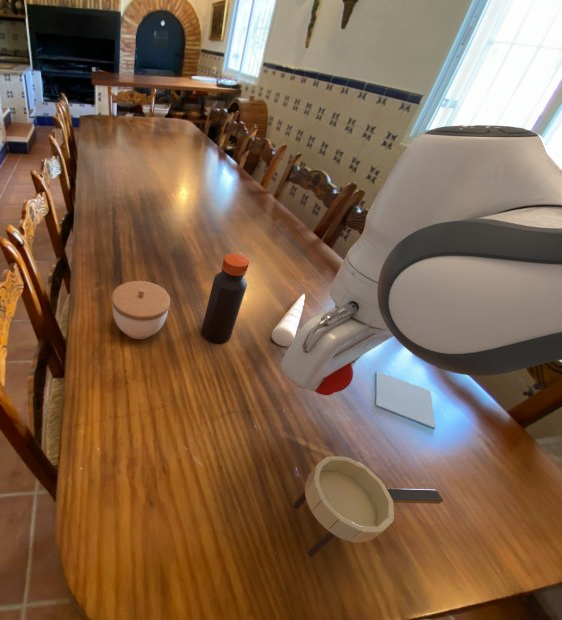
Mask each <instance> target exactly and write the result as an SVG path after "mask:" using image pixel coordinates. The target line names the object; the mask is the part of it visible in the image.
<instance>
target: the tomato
mask: <svg viewBox="0 0 562 620" xmlns="http://www.w3.org/2000/svg"><path fill="white" fill-rule="evenodd" d="M353 378H354V369H353V367H352V365H351V363H348V364H347V365H345V366H343V367H342V368H340V369H338V370H337V371H335V372H333V373H332V374H330V375H328V376H327V377H325V378H324V379H325V381H324V383H323V384H322V386H321V387H319V388H318V389H316V390H315V391H314V392H315V393H316V394H318V395H322V396H331V395H333V394H334V393H338V392H342V391H345V389H346V388H348V387H349V386H350V385H351V383H352V381H353Z"/></svg>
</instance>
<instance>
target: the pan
mask: <svg viewBox="0 0 562 620" xmlns="http://www.w3.org/2000/svg"><path fill="white" fill-rule="evenodd" d="M443 502H444V499H443V498H442V496H441V494H440V493H439V491H438V490H437V489H429V488H427V489H426V488H425V489H424V488H421V489H420V488H418V489H417V488H387V487H386V485H385V483H384V482H383V481H382V479H380V477H378V476H377V475H376V474H375V473H374V472H373V471H372V470H371V469H370V468H369V467H368V466H366V465H365V464H364V463H361V462H358V461H357V460H354V459H352V458H350V457H348V456H339V455H338V456H335V455H329V456H326V457H325V458H323V459H322V460H321V461H319V462H318V463H317V464H316V465H315V466H314V467H313V468H312V470H311V471H310V472H309V474H308V475H307V478H306V481H305V483H304V490H303V491H302V492H301V494H300V495H299V496H298V498H297V499H296V500H294V502H293V503H292V508H293V510H296V511H299V510H300V508H301V506H302V505H304V503H306V504H307V505H308V508H309V510H310V512H311V513H312V515H313V516H314V518H315V519H316V521H318V522H319V524H320V525H321V526H322V527H323V528H325V530H327V532H326V533H325V534H323V536H322V537H320V539H318V540H317V541H316V542H315V543H314V544H313V545H312V546H311V547H310V548H308V549H307V555H308V556H309V557H311V558H314V557H315V556H316V555H318V554H319V552H321V551H322V550H323V549H324V548H325V547H326V546H327V545H329V544H330V543H331V542H333V540H334V539H336V538H339V539H341V540H343V541H347V542H350V543H356V544H359V543H361V544H362V543H367V542H370V541H372V540H374V539H376V537H378V536H379V535H381V534H382V533H383V532H384V531H385V530H386V529H387V528H389V526H391V525H392V524H393V523H394V520H395V513H394V512H395V504H432V505H433V504H434V505H436V504H437V505H438V504H440V505H441V503H443Z"/></svg>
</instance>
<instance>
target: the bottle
mask: <svg viewBox="0 0 562 620" xmlns="http://www.w3.org/2000/svg"><path fill="white" fill-rule="evenodd" d="M249 265H250V261H249V259H248V258H247V257H246V256H244V255H242V254H238V253H228V254H226V255H224V256H223V260H222V264H221V271H219V272H218V273H216V274H215V275H214V278H213V281H212V285H211V286H212V287H211V288H210V293H209V298H208V300H207V301H208V302H207V306H206V310H205V314H204V318H203V322H202V327H201V334H202V336H203V337H204V338H205V339H206V340H207V341H209V342H211V343H214V344H225V343H227V342H228V341H229V340H230V339H231V337H232V335H233V331H234V327H235V325H236V321H237V319H238V316H239V313H240V309H241V306H242V302H243V300H244V296H245V293H246V290H247V287H248V282H247V280H246V278H245V276H246V274H247V271H248V267H249Z"/></svg>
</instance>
